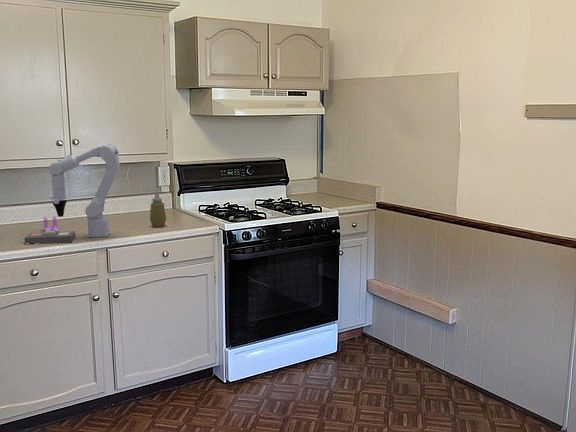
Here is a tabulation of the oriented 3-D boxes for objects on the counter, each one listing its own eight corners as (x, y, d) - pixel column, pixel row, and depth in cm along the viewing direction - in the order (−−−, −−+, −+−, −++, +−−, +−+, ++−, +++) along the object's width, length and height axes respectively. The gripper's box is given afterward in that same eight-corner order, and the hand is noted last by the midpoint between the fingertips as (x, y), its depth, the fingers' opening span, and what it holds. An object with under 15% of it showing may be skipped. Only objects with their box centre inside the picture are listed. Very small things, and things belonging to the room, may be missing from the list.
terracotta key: (43, 239, 273) (42, 233, 273) (40, 241, 269) (40, 235, 269) (33, 239, 273) (32, 233, 272) (30, 242, 269) (30, 235, 268)
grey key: (56, 236, 274) (56, 230, 274) (54, 238, 270) (54, 232, 269) (46, 236, 273) (46, 230, 273) (44, 238, 269) (43, 232, 269)
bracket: (44, 230, 296) (43, 216, 294) (56, 229, 298) (55, 215, 297) (47, 235, 284) (46, 221, 283) (59, 234, 287) (58, 219, 285)
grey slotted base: (75, 237, 278) (75, 231, 278) (71, 242, 269) (70, 236, 268) (30, 239, 275) (30, 232, 275) (24, 244, 266) (24, 237, 265)
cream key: (70, 238, 275) (69, 232, 275) (68, 240, 271) (67, 234, 270) (60, 239, 275) (60, 232, 274) (58, 241, 270) (57, 234, 270)
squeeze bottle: (162, 228, 299) (161, 192, 295) (147, 227, 300) (145, 192, 297) (168, 224, 306) (167, 190, 303) (154, 224, 308) (152, 190, 305)
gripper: (53, 186, 284) (55, 213, 287) (45, 190, 270) (48, 219, 273) (68, 185, 285) (70, 213, 288) (62, 190, 271) (64, 219, 274)
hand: (60, 216), depth 280 cm, fingers closed
